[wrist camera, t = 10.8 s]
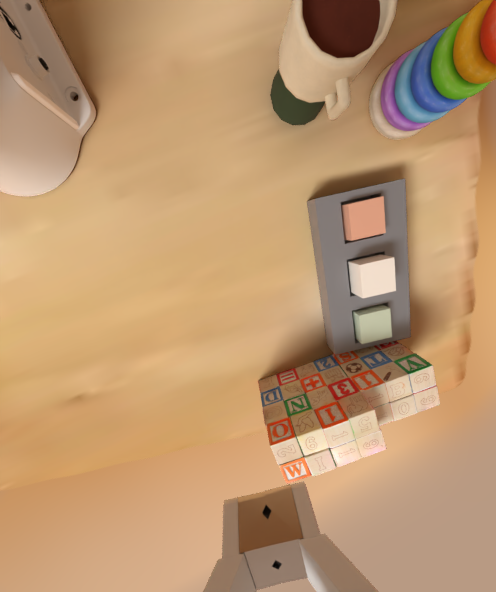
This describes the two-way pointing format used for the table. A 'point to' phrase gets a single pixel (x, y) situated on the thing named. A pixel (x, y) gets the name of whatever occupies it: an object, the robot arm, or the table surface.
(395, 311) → the button panel
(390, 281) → the cream button
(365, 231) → the terracotta button
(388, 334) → the sage button
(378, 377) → the stack of blocks
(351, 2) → the character mug
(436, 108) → the stacking toy
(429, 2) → the table surface
